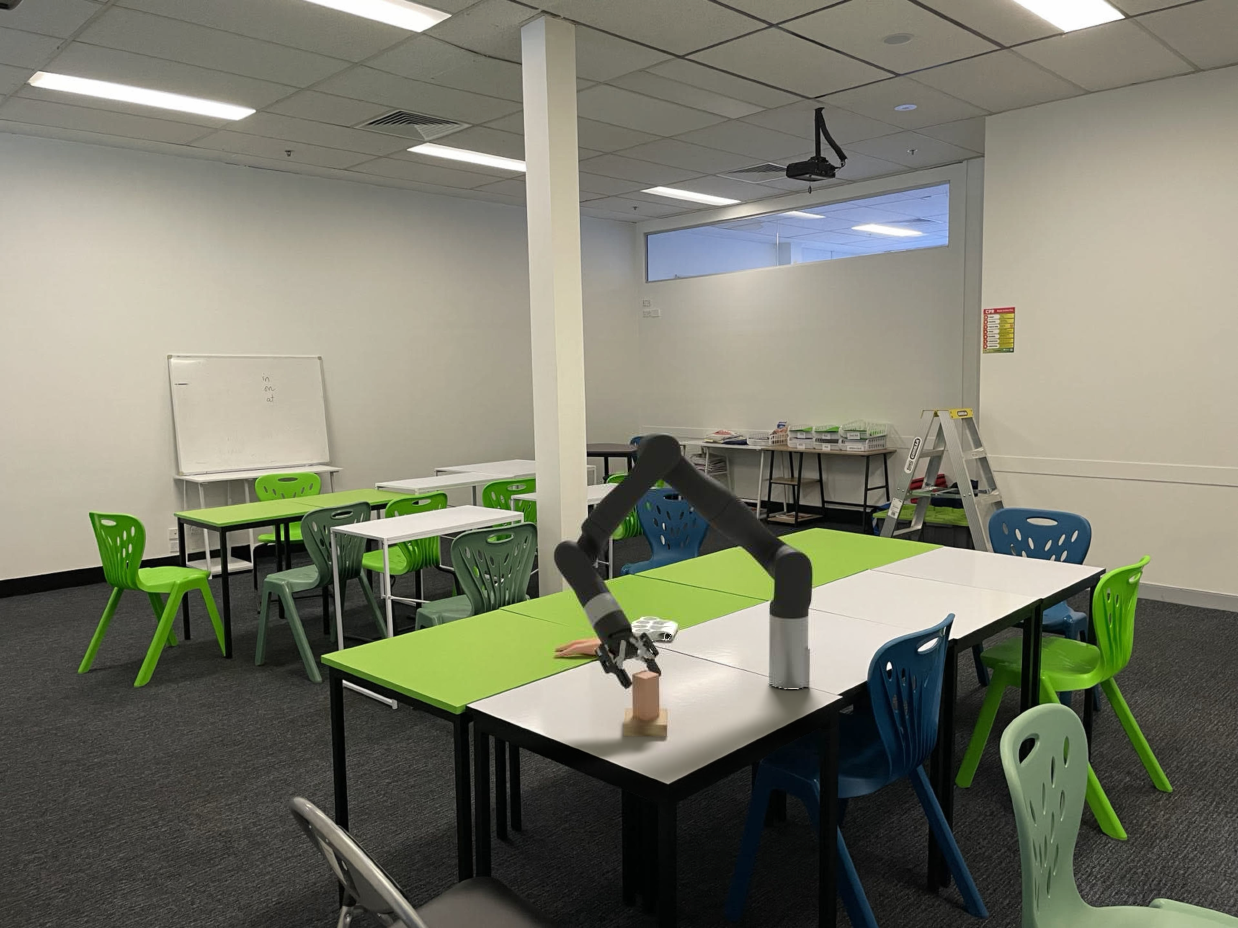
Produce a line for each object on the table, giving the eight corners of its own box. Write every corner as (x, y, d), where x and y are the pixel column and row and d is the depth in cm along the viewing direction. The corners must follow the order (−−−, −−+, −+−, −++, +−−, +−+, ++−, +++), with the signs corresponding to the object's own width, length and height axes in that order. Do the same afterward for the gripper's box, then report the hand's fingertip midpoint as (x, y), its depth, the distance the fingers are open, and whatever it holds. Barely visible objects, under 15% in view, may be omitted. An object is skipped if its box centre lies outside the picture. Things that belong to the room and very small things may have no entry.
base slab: (667, 722, 187) (667, 708, 187) (667, 739, 178) (667, 724, 178) (625, 721, 188) (625, 708, 188) (623, 738, 179) (623, 724, 179)
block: (646, 711, 186) (645, 670, 185) (659, 715, 183) (659, 674, 182) (632, 715, 183) (632, 674, 182) (646, 721, 180) (645, 678, 180)
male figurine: (555, 637, 240) (644, 628, 240) (557, 654, 241) (646, 645, 241) (553, 648, 230) (646, 639, 230) (554, 667, 230) (648, 657, 230)
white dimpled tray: (671, 646, 243) (620, 643, 246) (679, 628, 260) (632, 626, 263) (671, 634, 242) (619, 631, 245) (679, 617, 260) (632, 615, 263)
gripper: (590, 614, 183) (628, 680, 175) (639, 603, 193) (676, 665, 185) (574, 634, 187) (610, 699, 180) (622, 622, 197) (658, 683, 189)
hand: (644, 682), depth 182 cm, fingers open, 8 cm apart
